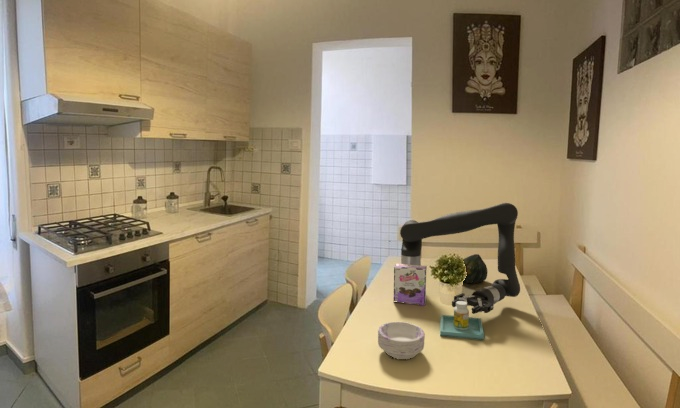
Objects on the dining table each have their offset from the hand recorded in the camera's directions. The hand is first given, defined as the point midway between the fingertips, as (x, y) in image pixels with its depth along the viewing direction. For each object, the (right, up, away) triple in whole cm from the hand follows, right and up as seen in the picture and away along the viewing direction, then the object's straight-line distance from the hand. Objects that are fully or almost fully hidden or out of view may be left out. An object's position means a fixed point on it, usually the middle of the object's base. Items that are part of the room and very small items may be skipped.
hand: (462, 307), depth 152 cm
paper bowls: (-26, -11, -16) cm, 32 cm away
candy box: (-15, -5, +28) cm, 32 cm away
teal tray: (0, -8, +1) cm, 8 cm away
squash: (+21, -1, +54) cm, 58 cm away
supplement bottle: (0, -8, +1) cm, 8 cm away
